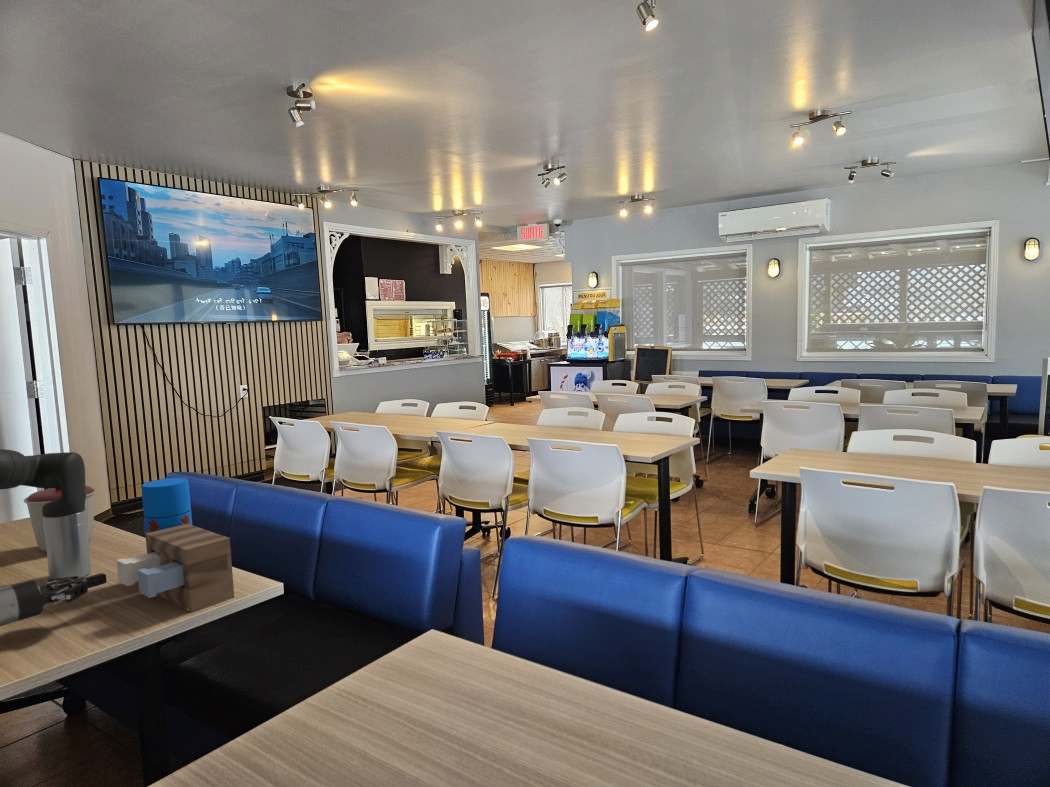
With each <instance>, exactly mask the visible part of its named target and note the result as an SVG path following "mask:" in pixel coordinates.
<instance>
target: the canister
mask: <svg viewBox="0 0 1050 787" xmlns="http://www.w3.org/2000/svg"><path fill="white" fill-rule="evenodd" d="M61 491H62V488H50V489H42V490H39V491H35V492H33V493H31V494H30V495H28V497H26V498H24V499H23V502H24V503H25V504H26V506H27V510H28V513H29V518H30V523H31V526H32V531H33V534H34V537H35V541H36V544H37V546H38V548H39V550H41V551H43V552H44V553H47V550H46V541H45V532H44V523H43V514H42V507H43V505H45V504H46V503H48V502H51V501H54V500H56V499H58V498H59V497H60V496H61ZM96 493H97V489H96V488H93V487H91V486H88V485H86V500H85V512H86V521H87V531H88V541H89V543H90V542H91V541H92V538H93V535H94V524H95V523H94V522H95V520H94V519H95V494H96Z"/></svg>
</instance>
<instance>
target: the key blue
mask: <svg viewBox="0 0 1050 787" xmlns="http://www.w3.org/2000/svg"><path fill="white" fill-rule="evenodd" d="M137 582H138V589H139V594H141V595H142V596H145V597H147V598H149V599H150V598H154V597H157V596H158V595H157V593H160V592H163V591H166V590H170V589H173V588H176V587H179V586H182V585H185V581H184V570H183V563H182V562H179V561H175V562H172V563H168V564H165V565H161V566H158V567H154V568H151V569H145V568H144V569H140V570H138V581H137Z"/></svg>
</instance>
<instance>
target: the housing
mask: <svg viewBox="0 0 1050 787" xmlns="http://www.w3.org/2000/svg"><path fill="white" fill-rule="evenodd" d="M144 536H145V546H146V554H148V553H152V552H158V553H160V558H161V565H165V564H168V563H172V562H175V561H179V562H182V563H183V570H184V581H185V585H182V586H179V587H176V588H173V589H170V590H166V591H163V592H160V593H157V596H159V597H162V598H163V599H166V600H167V601H169V602H171V603H173V604H175V605H177V606H179V607H180V608H182V607H183V608H182V609H184V608H185V609H184V610H186V609H188V610H189V611H188V610H187V611H188V612H190V611H191V612H190V613H193V612H192V611H194V612H196V611H199V610H201V609H205V608H208V607H210V606H214V605H217V604H219V603H221V602H225V601H227V599H228V600H230V598H231V599H233V597H234V598H235V588H234V578H233V577H234V576H233V575H234V574H233V563H232V550H231V540H230V538H231V537H228V536H225V535H221V534H219V533H216V532H212V531H210V530H208V529H204V528H201V527H198V526H196V525H193V524H192V525H190V524H183V525H179V526H175V527H171V528H167V529H163V530H159V531H155V532H150V533H145V535H144ZM198 609H199V610H198ZM195 610H196V611H195Z"/></svg>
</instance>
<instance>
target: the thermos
mask: <svg viewBox="0 0 1050 787" xmlns="http://www.w3.org/2000/svg"><path fill="white" fill-rule="evenodd" d="M141 500H142V509H143V510H142V511H143V521H144V532H145V534H146V533H150V532H155V531H159V530H163V529H167V528H171V527H175V526H179V525H183V524H190V525H193V517H192V516H193V515H192V507H191V506H192V504H191V496H190V485H189V480H188V478H184V477H172V478H164V479H163V478H162V479H155V480H151V481H148V482H144V483H143V484H142V486H141Z"/></svg>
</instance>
